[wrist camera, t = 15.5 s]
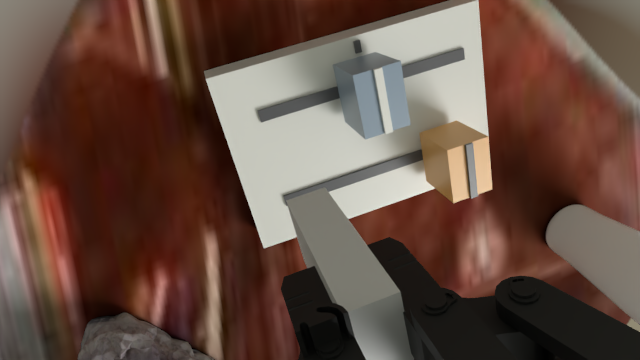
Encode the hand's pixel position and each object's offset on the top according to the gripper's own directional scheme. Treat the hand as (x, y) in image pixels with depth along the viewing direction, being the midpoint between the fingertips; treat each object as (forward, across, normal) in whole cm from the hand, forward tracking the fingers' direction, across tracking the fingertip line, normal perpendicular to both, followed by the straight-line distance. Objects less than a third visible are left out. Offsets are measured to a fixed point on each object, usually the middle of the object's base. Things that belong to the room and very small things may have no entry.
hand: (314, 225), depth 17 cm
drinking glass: (+18, +26, -20) cm, 38 cm away
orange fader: (+15, +12, -6) cm, 20 cm away
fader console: (+18, +7, -3) cm, 20 cm away
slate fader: (+15, +7, 0) cm, 16 cm away
